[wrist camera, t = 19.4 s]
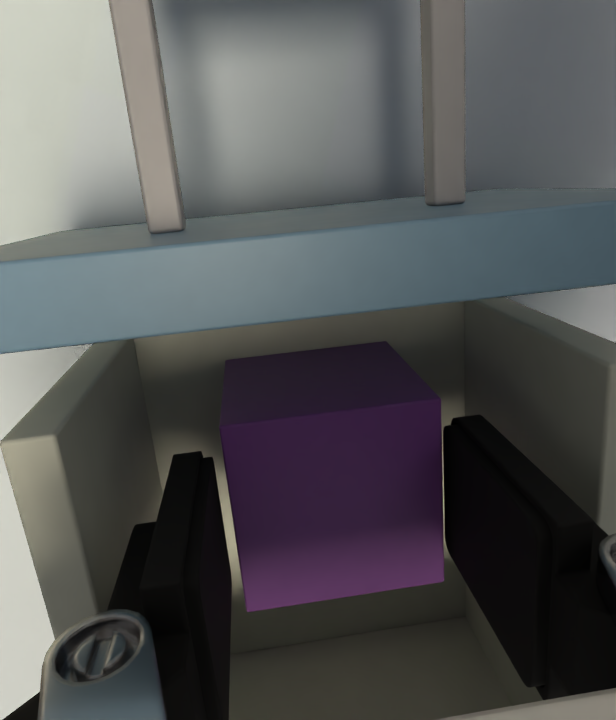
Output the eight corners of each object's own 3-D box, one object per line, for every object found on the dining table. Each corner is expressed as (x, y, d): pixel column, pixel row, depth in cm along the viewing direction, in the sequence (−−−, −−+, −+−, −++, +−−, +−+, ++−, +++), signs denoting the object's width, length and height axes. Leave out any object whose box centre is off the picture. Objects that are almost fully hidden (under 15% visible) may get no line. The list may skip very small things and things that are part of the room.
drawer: (7, -11, 12) (-297, -269, 5) (505, -41, 13) (799, -296, 6) (154, 658, 18) (99, 955, 11) (495, 603, 19) (643, 845, 12)
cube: (386, 340, 14) (442, 397, 10) (393, 482, 16) (445, 583, 12) (224, 359, 14) (218, 426, 10) (245, 503, 15) (246, 613, 11)
